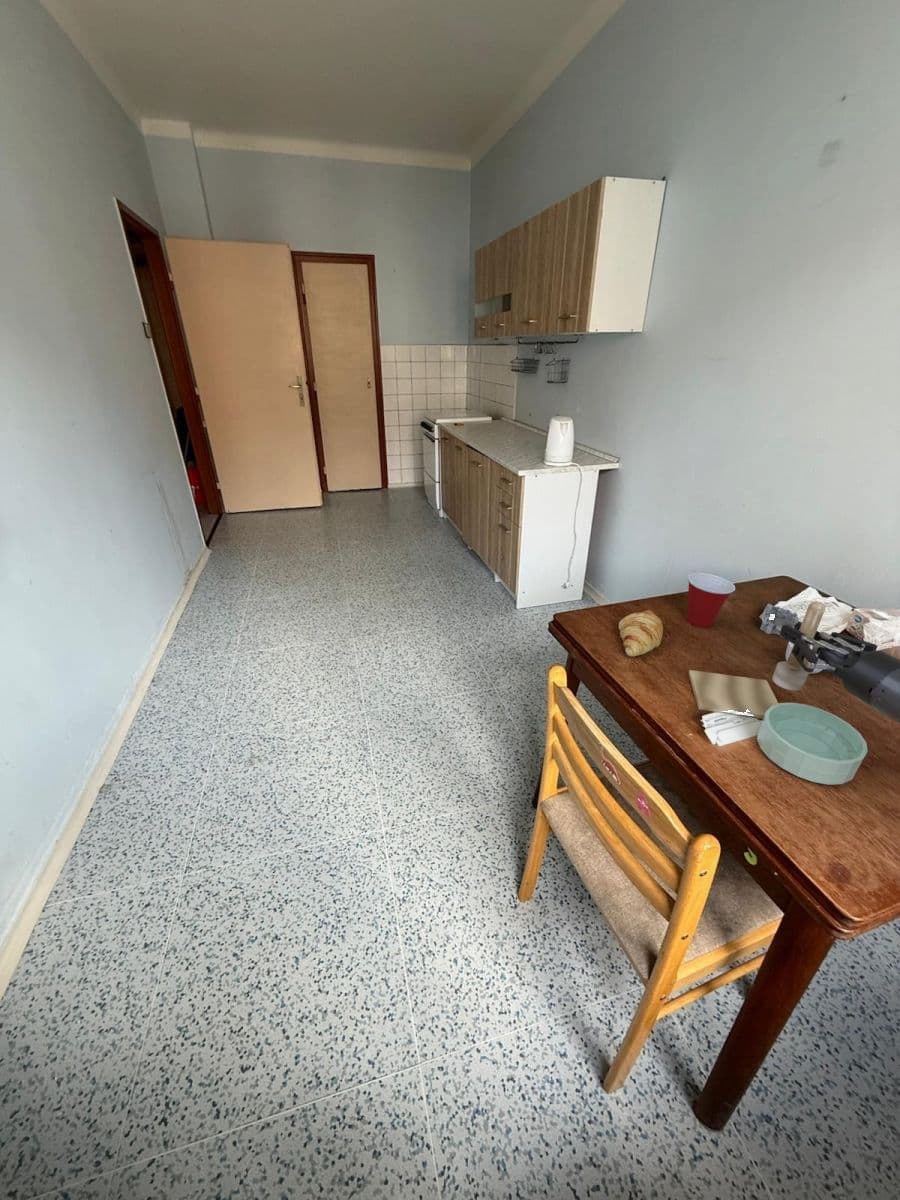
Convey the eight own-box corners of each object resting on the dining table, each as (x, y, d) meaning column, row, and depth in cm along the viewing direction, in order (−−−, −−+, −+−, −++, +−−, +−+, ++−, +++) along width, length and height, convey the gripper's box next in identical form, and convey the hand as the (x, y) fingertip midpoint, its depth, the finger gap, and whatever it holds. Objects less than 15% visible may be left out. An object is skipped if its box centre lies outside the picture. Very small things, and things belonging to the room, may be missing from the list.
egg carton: (791, 641, 114) (796, 626, 112) (755, 631, 118) (760, 617, 116) (797, 623, 121) (802, 609, 119) (763, 614, 125) (768, 600, 123)
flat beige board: (765, 683, 100) (766, 680, 99) (784, 722, 89) (786, 718, 89) (688, 673, 103) (689, 669, 103) (698, 709, 93) (699, 705, 93)
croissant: (639, 676, 108) (663, 655, 103) (603, 649, 110) (624, 627, 105) (656, 631, 124) (677, 611, 119) (624, 608, 126) (643, 588, 120)
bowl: (832, 732, 87) (844, 709, 84) (871, 795, 75) (885, 770, 72) (746, 719, 90) (755, 697, 88) (770, 777, 78) (780, 753, 76)
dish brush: (797, 676, 85) (829, 597, 77) (807, 692, 81) (841, 610, 73) (768, 673, 86) (797, 594, 78) (777, 688, 82) (808, 607, 74)
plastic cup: (728, 636, 116) (741, 592, 110) (680, 630, 119) (691, 587, 113) (719, 614, 125) (731, 573, 119) (675, 609, 128) (684, 569, 122)
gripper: (944, 659, 67) (828, 603, 81) (868, 676, 64) (762, 615, 78) (920, 700, 70) (813, 640, 85) (847, 718, 67) (750, 652, 82)
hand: (789, 628), depth 82 cm, fingers closed on dish brush
